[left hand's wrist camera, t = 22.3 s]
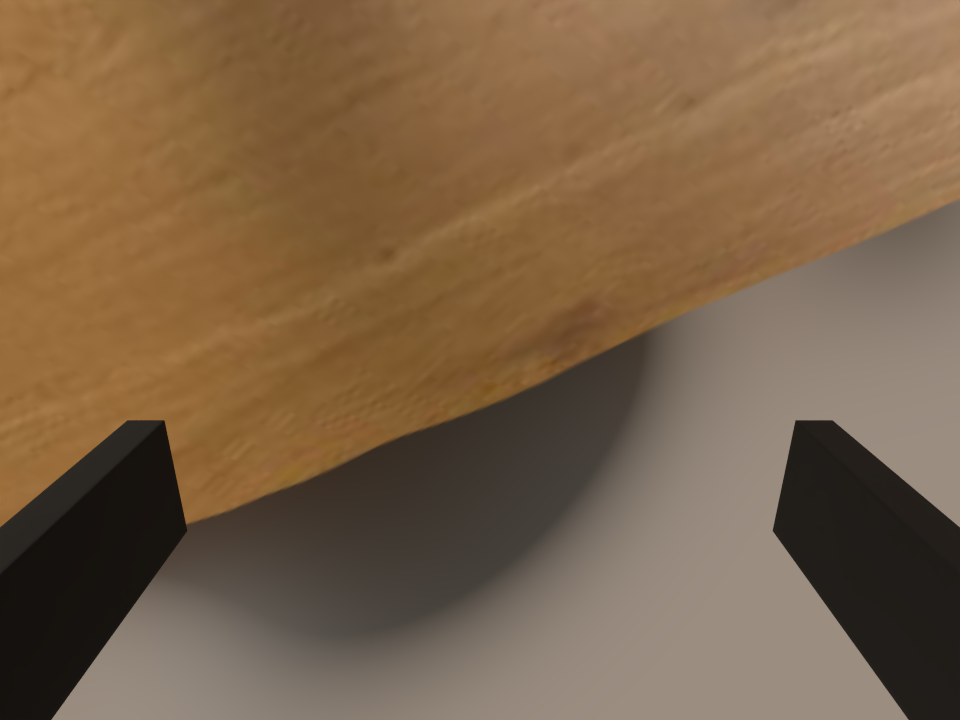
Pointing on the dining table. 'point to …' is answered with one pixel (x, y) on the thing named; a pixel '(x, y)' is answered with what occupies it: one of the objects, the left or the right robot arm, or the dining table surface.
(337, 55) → the dining table surface
